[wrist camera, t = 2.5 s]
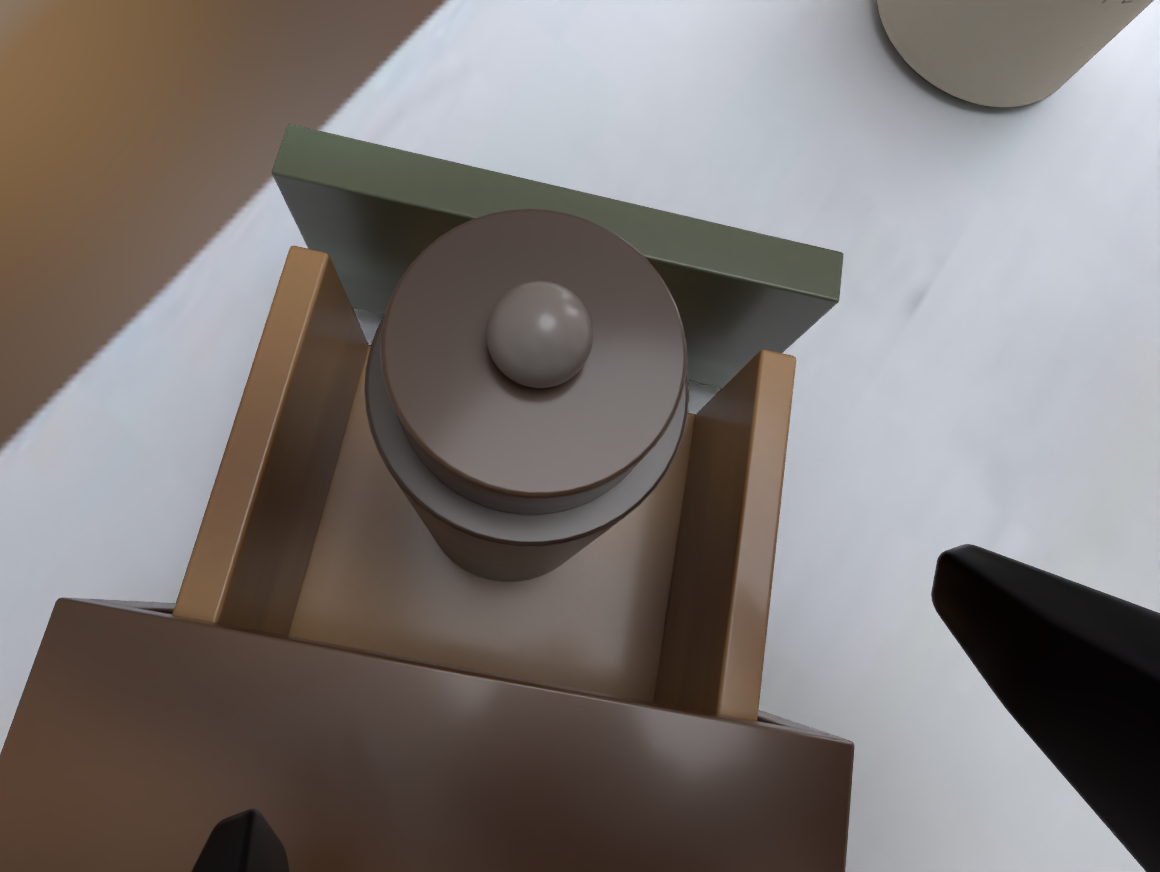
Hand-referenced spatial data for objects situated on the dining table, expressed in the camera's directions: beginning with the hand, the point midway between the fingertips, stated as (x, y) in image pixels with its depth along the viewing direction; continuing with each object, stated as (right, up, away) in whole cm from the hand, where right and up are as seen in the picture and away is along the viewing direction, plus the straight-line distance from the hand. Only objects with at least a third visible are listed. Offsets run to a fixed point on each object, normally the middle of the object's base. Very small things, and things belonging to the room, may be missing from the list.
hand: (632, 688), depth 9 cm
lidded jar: (-2, +2, +10) cm, 10 cm away
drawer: (-2, +2, +11) cm, 11 cm away
